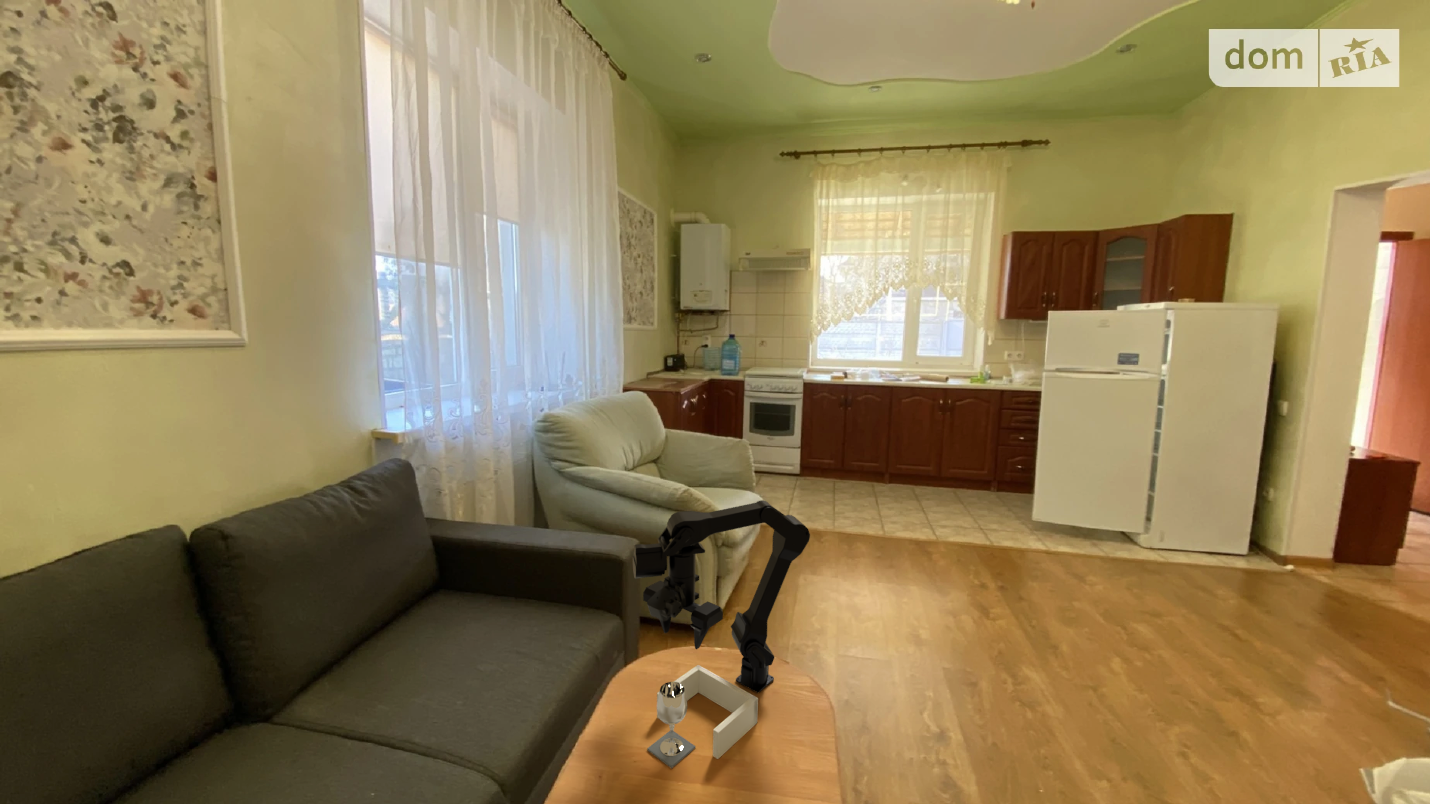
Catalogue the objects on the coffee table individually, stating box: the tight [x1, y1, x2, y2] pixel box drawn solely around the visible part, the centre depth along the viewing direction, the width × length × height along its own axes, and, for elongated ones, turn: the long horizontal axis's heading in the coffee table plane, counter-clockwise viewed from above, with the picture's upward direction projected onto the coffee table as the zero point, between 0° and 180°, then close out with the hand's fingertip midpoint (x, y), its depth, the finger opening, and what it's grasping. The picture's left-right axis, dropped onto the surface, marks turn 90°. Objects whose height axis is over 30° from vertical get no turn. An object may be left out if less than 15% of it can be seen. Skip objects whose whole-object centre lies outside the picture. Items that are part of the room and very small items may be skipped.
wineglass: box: [656, 681, 688, 756], centre depth 103 cm, size 6×6×12 cm
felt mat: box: [646, 730, 696, 769], centre depth 103 cm, size 6×6×1 cm
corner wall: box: [656, 664, 759, 760], centre depth 111 cm, size 13×16×6 cm
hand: (681, 640), depth 118 cm, fingers open, 9 cm apart
